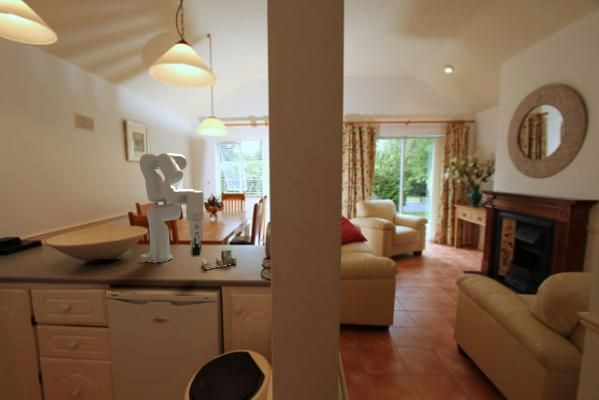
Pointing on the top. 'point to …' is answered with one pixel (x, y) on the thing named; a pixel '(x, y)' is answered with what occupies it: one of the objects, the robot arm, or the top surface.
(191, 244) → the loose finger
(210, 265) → the rail board
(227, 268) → the top surface
